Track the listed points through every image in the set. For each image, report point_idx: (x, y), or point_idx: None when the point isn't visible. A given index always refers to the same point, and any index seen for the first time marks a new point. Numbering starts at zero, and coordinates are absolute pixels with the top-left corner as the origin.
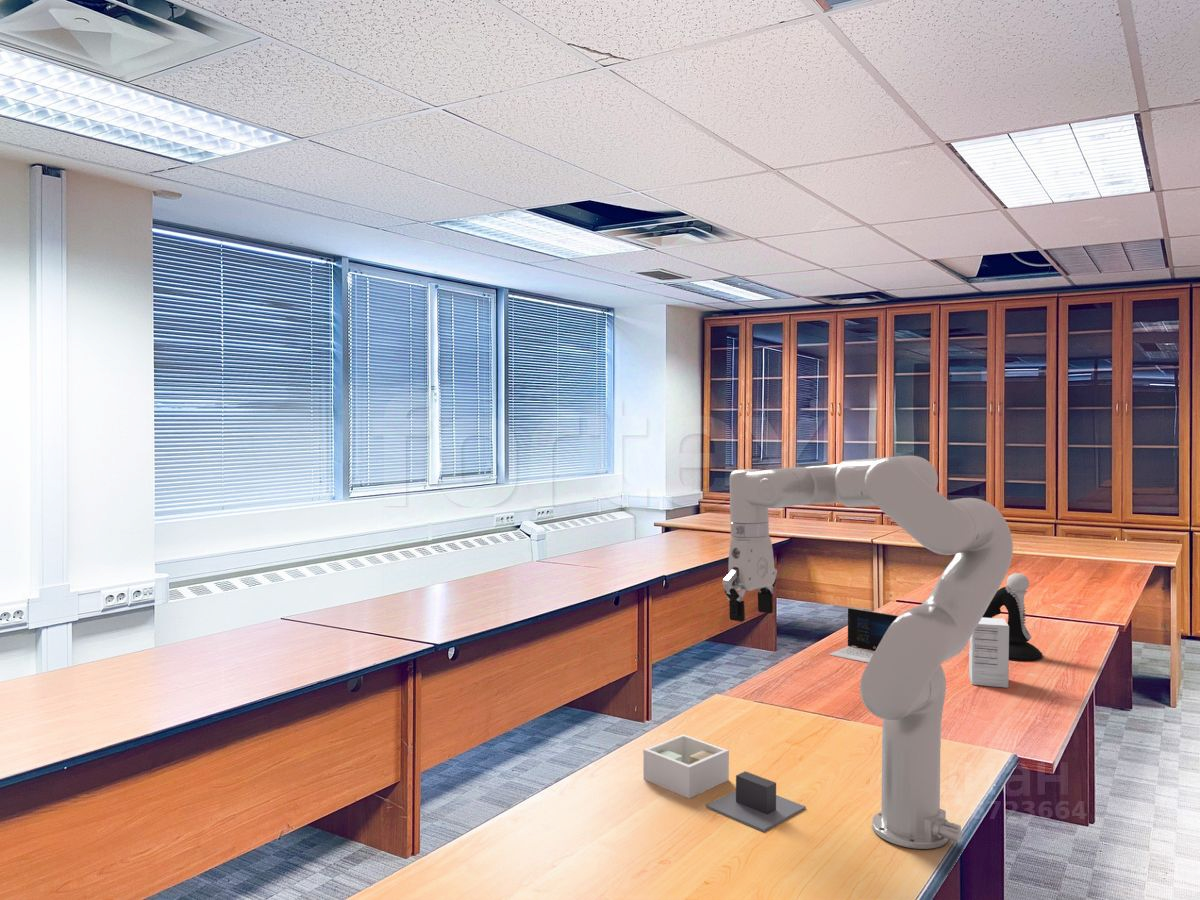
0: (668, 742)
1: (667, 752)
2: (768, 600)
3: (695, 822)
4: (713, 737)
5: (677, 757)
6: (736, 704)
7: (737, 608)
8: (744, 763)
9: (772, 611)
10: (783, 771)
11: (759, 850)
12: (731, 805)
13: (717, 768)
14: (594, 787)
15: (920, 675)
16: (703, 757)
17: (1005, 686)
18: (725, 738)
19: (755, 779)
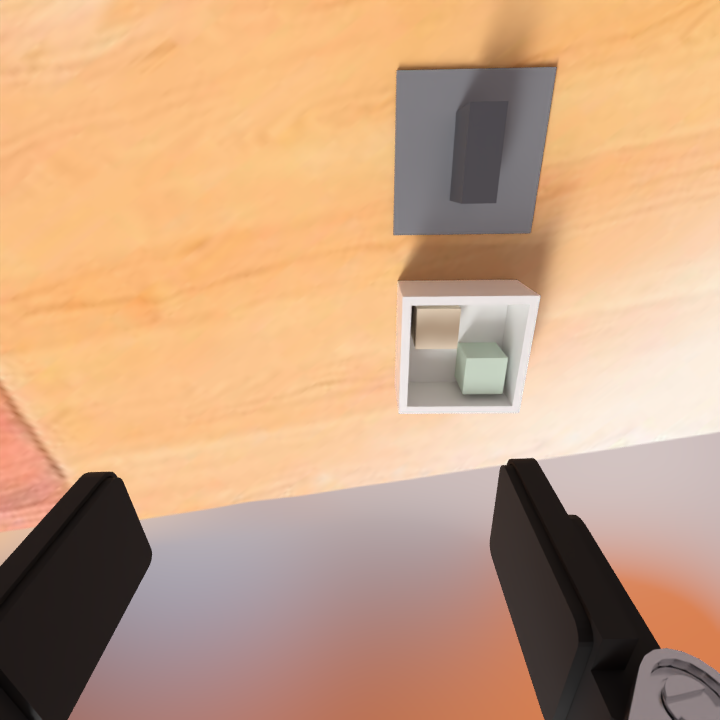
0: (454, 405)
1: (473, 387)
2: (49, 585)
3: (596, 204)
4: (263, 419)
5: (480, 359)
6: None
7: (616, 581)
8: (311, 309)
9: (86, 476)
10: (279, 230)
11: (634, 17)
12: (499, 195)
13: (437, 288)
14: (578, 413)
15: None
16: (444, 325)
17: None
18: (248, 403)
19: (487, 153)
